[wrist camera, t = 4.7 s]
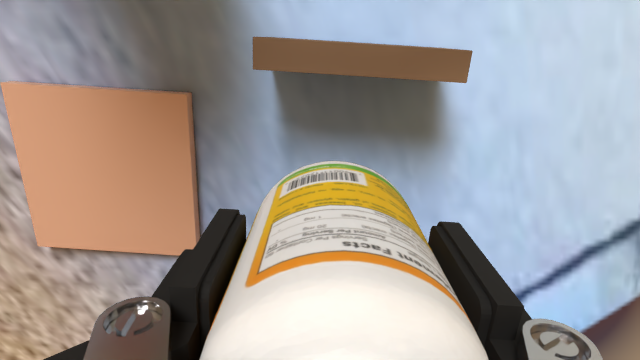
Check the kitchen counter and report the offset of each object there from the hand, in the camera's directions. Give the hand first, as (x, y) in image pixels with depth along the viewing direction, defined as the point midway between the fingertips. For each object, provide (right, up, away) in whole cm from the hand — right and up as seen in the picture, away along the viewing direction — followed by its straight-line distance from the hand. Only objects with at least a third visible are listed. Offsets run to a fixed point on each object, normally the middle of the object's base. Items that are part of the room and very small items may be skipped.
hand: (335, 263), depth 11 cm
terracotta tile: (-10, +3, +7) cm, 13 cm away
